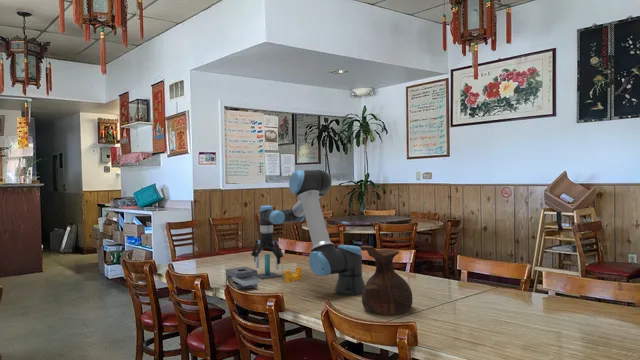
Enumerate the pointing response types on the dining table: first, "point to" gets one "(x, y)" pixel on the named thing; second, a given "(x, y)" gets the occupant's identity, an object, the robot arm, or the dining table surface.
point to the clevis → (243, 277)
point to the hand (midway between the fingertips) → (267, 268)
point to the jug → (385, 286)
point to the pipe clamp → (293, 275)
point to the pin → (267, 264)
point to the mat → (272, 275)
